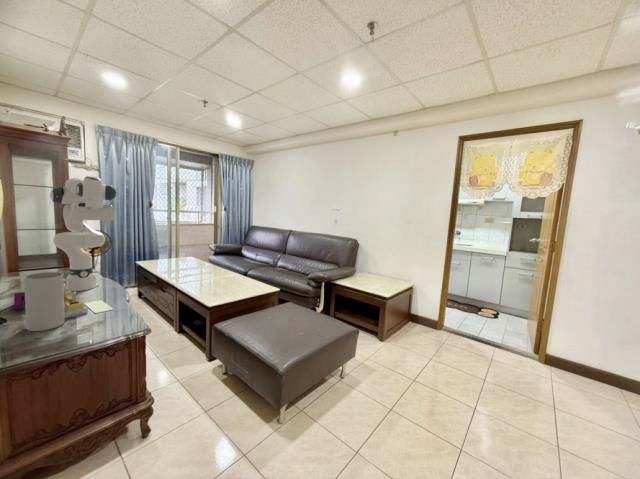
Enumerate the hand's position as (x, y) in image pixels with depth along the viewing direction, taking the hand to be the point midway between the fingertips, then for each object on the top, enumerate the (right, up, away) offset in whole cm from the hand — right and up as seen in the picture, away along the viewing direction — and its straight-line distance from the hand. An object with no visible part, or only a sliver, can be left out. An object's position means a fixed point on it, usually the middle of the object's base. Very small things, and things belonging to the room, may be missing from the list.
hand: (93, 227), depth 152 cm
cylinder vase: (+3, -49, -29) cm, 57 cm away
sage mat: (+6, -46, -4) cm, 47 cm away
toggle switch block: (-2, -46, -12) cm, 48 cm away
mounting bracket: (-29, -44, -8) cm, 53 cm away
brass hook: (-1, -43, -12) cm, 45 cm away
